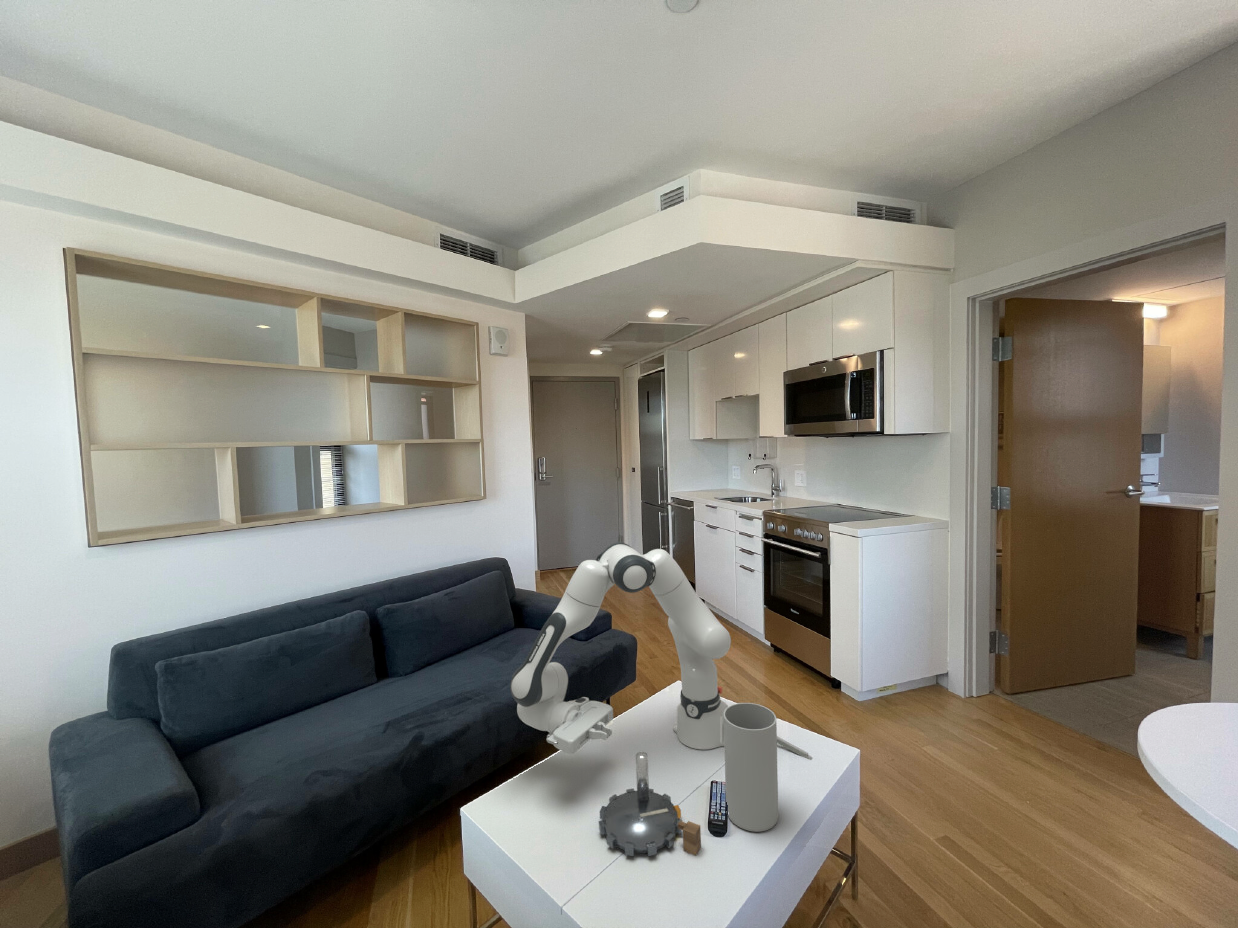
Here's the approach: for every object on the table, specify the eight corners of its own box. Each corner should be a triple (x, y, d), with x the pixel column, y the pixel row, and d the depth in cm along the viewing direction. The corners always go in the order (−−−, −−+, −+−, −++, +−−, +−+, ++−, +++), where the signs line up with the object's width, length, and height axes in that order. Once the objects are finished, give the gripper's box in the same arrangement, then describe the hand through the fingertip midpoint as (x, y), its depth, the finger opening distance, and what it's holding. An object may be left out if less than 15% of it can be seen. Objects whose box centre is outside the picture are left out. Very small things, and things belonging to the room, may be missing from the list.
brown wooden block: (682, 838, 121) (681, 817, 121) (700, 846, 118) (700, 825, 118) (676, 847, 118) (675, 826, 118) (695, 855, 116) (695, 834, 116)
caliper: (745, 736, 161) (744, 717, 161) (746, 735, 162) (746, 715, 162) (811, 760, 148) (810, 739, 148) (812, 758, 149) (812, 737, 149)
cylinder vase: (787, 811, 128) (785, 713, 127) (764, 842, 119) (761, 736, 118) (741, 790, 137) (739, 697, 136) (716, 816, 127) (713, 718, 126)
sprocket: (626, 785, 139) (624, 739, 138) (695, 811, 128) (693, 761, 128) (583, 834, 122) (580, 782, 121) (658, 869, 111) (656, 811, 111)
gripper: (542, 727, 134) (585, 742, 127) (587, 693, 152) (628, 705, 144) (542, 751, 135) (586, 767, 127) (588, 714, 152) (628, 727, 145)
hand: (609, 734), depth 136 cm, fingers closed
